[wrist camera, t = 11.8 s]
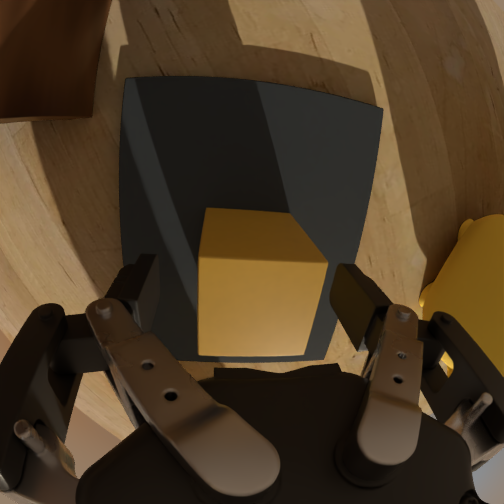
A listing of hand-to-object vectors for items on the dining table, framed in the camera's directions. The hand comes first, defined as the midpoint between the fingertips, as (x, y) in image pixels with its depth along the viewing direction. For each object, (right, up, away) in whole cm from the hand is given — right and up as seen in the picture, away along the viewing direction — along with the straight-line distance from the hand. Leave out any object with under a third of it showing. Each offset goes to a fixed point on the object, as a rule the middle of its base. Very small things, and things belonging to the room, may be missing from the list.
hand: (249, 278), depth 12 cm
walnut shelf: (-14, +14, -3) cm, 20 cm away
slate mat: (0, +2, +4) cm, 4 cm away
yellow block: (0, +1, +3) cm, 4 cm away
